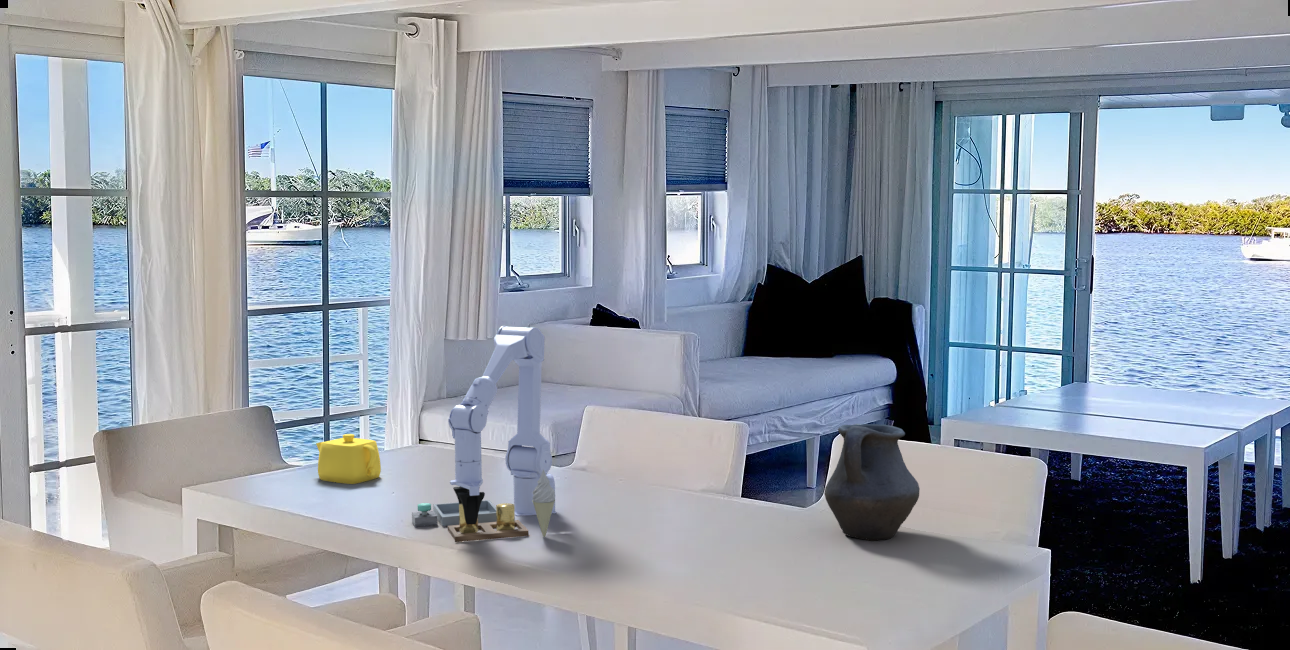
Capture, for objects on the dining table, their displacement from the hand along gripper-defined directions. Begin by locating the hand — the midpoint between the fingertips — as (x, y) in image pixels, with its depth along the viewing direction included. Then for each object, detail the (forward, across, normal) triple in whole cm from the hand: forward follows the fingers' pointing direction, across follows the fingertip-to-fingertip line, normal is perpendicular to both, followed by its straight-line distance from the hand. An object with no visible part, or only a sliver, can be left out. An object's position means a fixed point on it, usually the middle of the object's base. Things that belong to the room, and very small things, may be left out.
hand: (469, 521), depth 282 cm
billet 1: (+2, 0, 0) cm, 2 cm away
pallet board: (+3, 0, +4) cm, 5 cm away
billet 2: (+3, 0, +8) cm, 9 cm away
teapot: (+3, -70, -20) cm, 73 cm away
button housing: (+3, -12, -8) cm, 15 cm away
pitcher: (+3, +29, +82) cm, 87 cm away
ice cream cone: (+3, +7, +15) cm, 17 cm away
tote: (+3, -15, +2) cm, 15 cm away
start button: (+2, -12, -8) cm, 15 cm away
